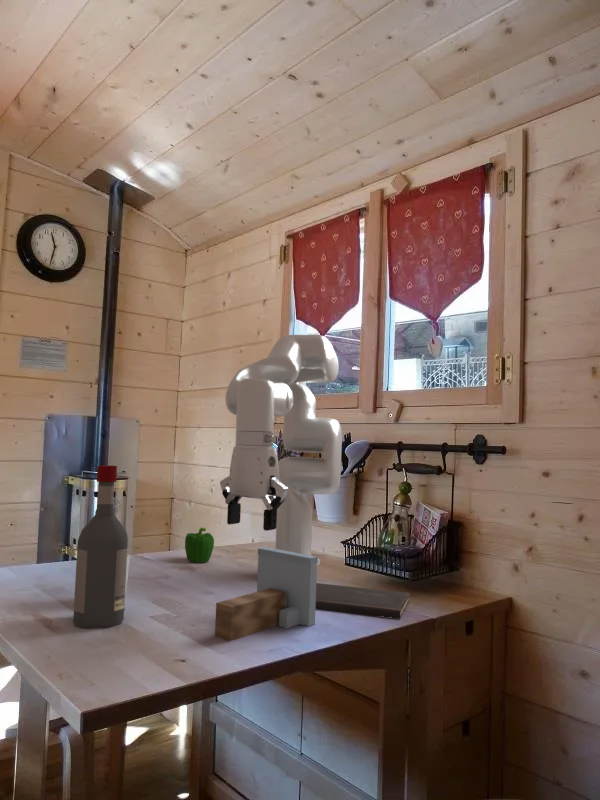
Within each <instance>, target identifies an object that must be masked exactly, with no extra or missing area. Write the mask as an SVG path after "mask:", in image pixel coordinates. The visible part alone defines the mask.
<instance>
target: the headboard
mask: <svg viewBox="0 0 600 800" xmlns="http://www.w3.org/2000/svg"><path fill="white" fill-rule="evenodd" d="M257 557H258V558H257V577H256V578H257V583H256V592H258V591H262V590H265V589H269V588H275V589H279V590H284V591H287V604H286V609H283V610H280V615H279V624H278V627H281V628H285V629H289V628H291V627H295V626H297V625H302V626H303V625H304V626H306V627H311V626H314V625H315V624H316V609H315V607H316V583H317V576H318V574H317V571H318V569H317V568H318V565H317V563H318V559H319V557H318V556H315V555H312V554H311V555H306V554H300V553H295V552H290V551H284V550H279V549H275V548H273V547H267V546H264V547H258V548H257Z"/></svg>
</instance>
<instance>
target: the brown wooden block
mask: <svg viewBox="0 0 600 800" xmlns="http://www.w3.org/2000/svg"><path fill="white" fill-rule="evenodd" d="M286 604H287V591H284V590H279V589H275V588H269V589H265V590H262V591H258V592H257V591H255V592H251V593H247V594H244V595H240V596H237V597H232V598H230V599H226V600H222V601H219V602H216V604H215V620H214V621H215V623H214V626H215V627H214V637H216V638H220V639H223V640H225V641H230V642H233V641H235V640H238V639H241V638H244V637H247V636H249V635H252V634H256V633H258V632H261V631H264V630H266V629H269V628H273V627H274V626H277V625H278V626H279V615H280V610H283V609H286Z"/></svg>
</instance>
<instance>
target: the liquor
mask: <svg viewBox="0 0 600 800" xmlns="http://www.w3.org/2000/svg"><path fill="white" fill-rule="evenodd" d="M96 471H97V472H96V482H97V483H98V484H97V485H98V486H97V487H98V488H97V502H96V503H97V504H96V509H95V512H94V515H93V517H92V518H91V519H90V520H89V521H88V522H87V523H86V525H85V526H84V527H83V528H82V529H81V532H80V534H79V537H78V539H77V545H76V546H77V548H76V550H77V551H76V564H75V565H76V566H75V581H74V585H75V586H74V602H73V617H72V618H73V619H72V622H73V624H74V626H75V627H78V628H81V629H97V628H99V629H101V628H113V627H116V626H119V625H121V624H122V622H123V621H124V620H125V602H126V597H125V584H126V565H127V554H128V547H129V546H128V544H129V543H128V542H129V537H128V531H127V529H126V528H125V527H124V525H123V524H122V522H120V520H119V519H118V518H117V516H116V515H115V509H114V494H115V482H117V477H118V475H117V474H118V473H117V471H118V466H117V465H106V464H105V465H97V469H96Z"/></svg>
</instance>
